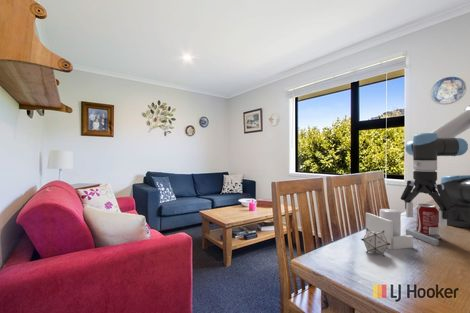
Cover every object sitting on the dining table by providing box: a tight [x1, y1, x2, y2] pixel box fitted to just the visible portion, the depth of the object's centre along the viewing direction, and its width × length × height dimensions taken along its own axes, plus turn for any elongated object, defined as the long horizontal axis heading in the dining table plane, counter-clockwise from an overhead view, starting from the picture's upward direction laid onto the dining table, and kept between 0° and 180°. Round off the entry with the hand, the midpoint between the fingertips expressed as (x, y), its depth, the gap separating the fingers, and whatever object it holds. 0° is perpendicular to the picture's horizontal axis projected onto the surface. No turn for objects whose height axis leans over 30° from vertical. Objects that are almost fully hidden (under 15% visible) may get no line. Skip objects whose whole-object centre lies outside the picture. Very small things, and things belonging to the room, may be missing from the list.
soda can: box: [416, 203, 439, 236], centre depth 91 cm, size 7×7×12 cm
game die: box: [360, 227, 390, 257], centre depth 75 cm, size 9×8×10 cm
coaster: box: [411, 229, 441, 240], centre depth 91 cm, size 9×9×1 cm
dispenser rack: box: [365, 208, 439, 250], centre depth 86 cm, size 20×12×12 cm, turn 99°
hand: (425, 221), depth 91 cm, fingers open, 13 cm apart
